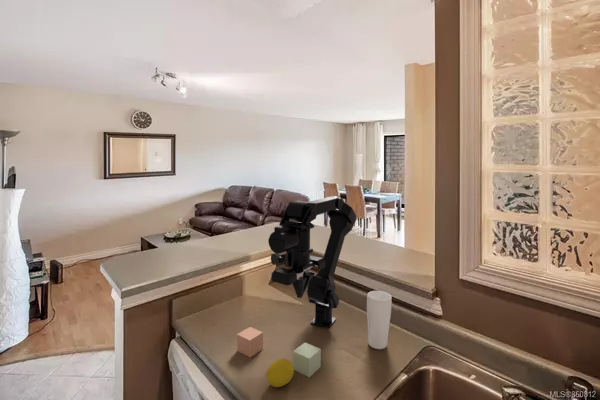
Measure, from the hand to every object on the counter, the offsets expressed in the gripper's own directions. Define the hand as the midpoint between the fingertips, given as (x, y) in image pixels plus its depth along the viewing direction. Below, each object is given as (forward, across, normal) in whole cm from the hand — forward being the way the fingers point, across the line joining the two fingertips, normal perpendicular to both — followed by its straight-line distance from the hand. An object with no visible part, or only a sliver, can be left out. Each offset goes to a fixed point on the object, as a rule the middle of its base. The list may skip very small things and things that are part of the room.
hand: (299, 297), depth 93 cm
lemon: (+10, +13, +8) cm, 19 cm away
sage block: (+13, +9, +9) cm, 19 cm away
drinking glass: (+13, -11, +20) cm, 26 cm away
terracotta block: (+13, +12, -8) cm, 20 cm away
